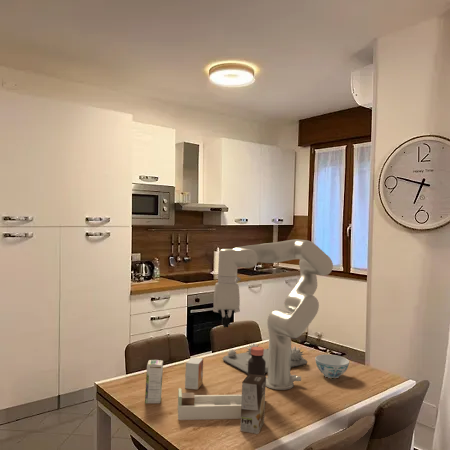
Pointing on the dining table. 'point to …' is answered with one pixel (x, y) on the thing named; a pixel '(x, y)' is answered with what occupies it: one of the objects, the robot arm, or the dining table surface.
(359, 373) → the dining table surface
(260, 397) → the coffee box
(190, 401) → the walnut block
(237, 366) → the decorative tray
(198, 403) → the tray
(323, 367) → the chinaware
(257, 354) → the bottle
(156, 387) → the syrup box
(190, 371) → the small box
